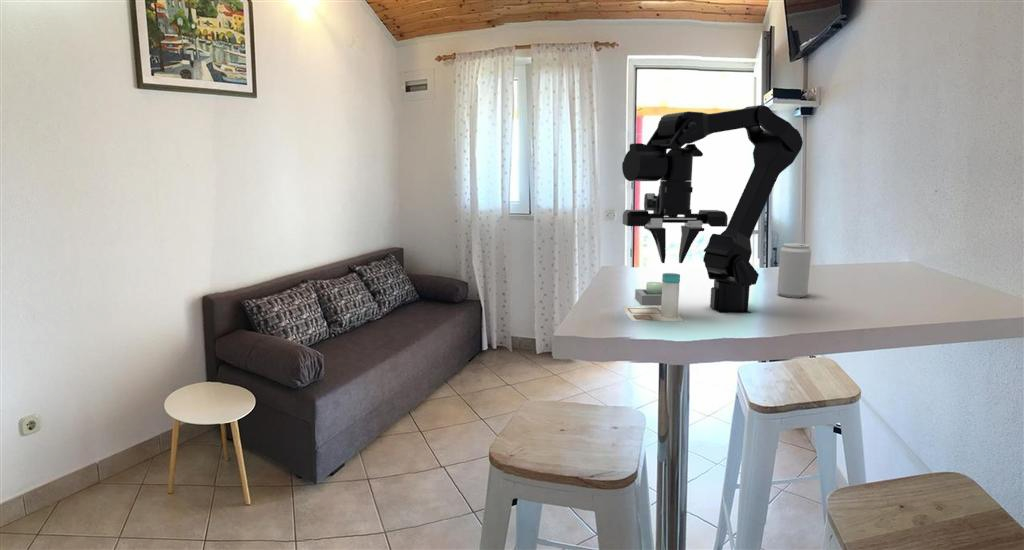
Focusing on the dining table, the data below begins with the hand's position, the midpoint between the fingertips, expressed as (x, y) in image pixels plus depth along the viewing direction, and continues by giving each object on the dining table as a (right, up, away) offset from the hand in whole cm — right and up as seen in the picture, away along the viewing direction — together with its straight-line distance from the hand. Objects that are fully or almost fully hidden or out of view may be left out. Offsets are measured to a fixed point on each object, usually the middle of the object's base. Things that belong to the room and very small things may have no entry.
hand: (671, 262), depth 116 cm
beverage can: (+34, -7, +23) cm, 42 cm away
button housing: (0, -9, +15) cm, 17 cm away
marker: (0, -10, +2) cm, 10 cm away
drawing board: (-3, -10, +4) cm, 12 cm away
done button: (0, -7, +14) cm, 16 cm away
